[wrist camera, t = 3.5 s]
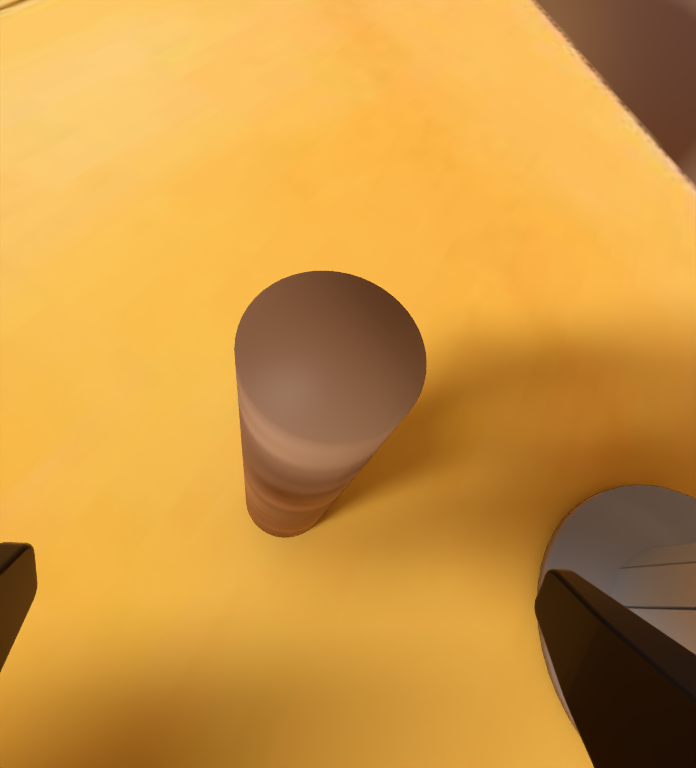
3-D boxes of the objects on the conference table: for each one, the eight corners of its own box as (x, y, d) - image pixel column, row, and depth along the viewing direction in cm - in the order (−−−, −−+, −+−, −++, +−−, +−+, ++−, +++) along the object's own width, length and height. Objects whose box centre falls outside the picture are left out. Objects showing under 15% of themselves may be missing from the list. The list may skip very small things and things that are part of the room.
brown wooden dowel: (339, 514, 19) (461, 396, 8) (265, 552, 18) (286, 477, 7) (305, 445, 20) (370, 250, 9) (233, 477, 19) (204, 302, 8)
